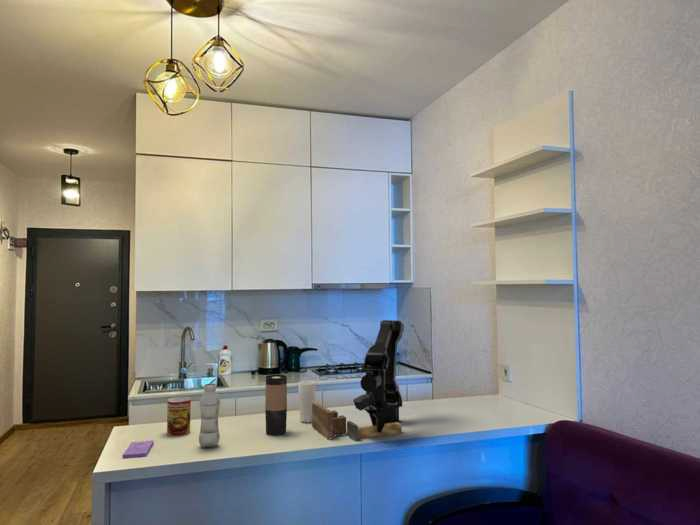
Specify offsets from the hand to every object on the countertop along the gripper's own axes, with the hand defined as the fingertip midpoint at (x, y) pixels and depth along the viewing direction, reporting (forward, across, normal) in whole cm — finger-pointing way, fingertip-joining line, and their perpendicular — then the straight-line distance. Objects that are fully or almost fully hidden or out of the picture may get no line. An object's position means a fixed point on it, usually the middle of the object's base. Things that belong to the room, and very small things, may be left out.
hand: (377, 431), depth 174 cm
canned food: (+1, -31, -64) cm, 71 cm away
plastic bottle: (+1, -11, -56) cm, 57 cm away
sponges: (+2, -16, -77) cm, 79 cm away
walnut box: (+1, -10, -13) cm, 16 cm away
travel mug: (+1, -17, -32) cm, 36 cm away
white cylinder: (+1, -27, -17) cm, 32 cm away
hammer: (+1, 0, 0) cm, 1 cm away
